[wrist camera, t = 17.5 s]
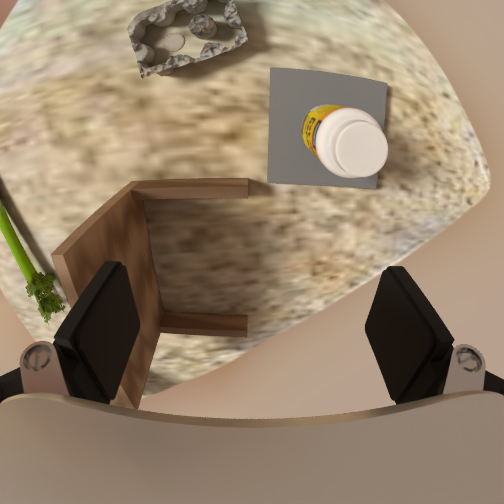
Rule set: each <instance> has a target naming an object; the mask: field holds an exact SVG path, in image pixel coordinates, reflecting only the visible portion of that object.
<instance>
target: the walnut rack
mask: <svg viewBox="0 0 504 504" xmlns="http://www.w3.org/2000/svg"><path fill="white" fill-rule="evenodd" d="M192 198H248V178H200V179H168V180H147V181H131V182H130V183H129V184H128V185H126V186H125V187H124V188H123V189H121V190H120V191H119V192H118V193H117V194H115V195H114V196H113V197H112V198H111V199H109V200H108V201H107V202H106V203H105V204H104V205H102V206H101V207H100V208H99V209H98V210H97V211H96V212H94V213H93V214H92V215H91V216H90V217H89V218H88V219H87V220H86V221H85V222H83V223H82V224H81V225H80V226H79V227H78V228H77V229H76V230H75V231H74V232H73V233H72V234H71V235H70V236H69V237H68V238H67V239H66V240H65V241H64V242H63V243H62V244H61V245H60V246H59V247H58V248H57V249H56V250H55V251H54V252H53V253H52V254H51V257H52V260H53V263H54V266H55V269H56V271H57V274H58V277H59V279H60V282H61V285H62V287H63V290H64V292H65V295H66V297H67V299H68V302H69V304H70V307H71V309H72V307H73V306H74V304H75V303H76V301H77V300H78V298H79V297H80V295H81V294H82V292H83V291H84V290H85V288H86V287H87V285H88V284H89V282H90V281H91V280H92V278H93V277H94V275H95V274H96V273H97V271H98V270H99V269H100V267H101V266H102V264H103V263H104V262H105V261H120V262H121V263H122V265H125V266H126V268H127V272H128V276H129V280H130V284H131V288H132V292H133V296H134V300H135V304H136V308H137V311H138V315H139V319H140V331H139V333H138V336H137V338H136V341H135V344H134V346H133V349H132V352H131V355H130V357H129V360H128V363H127V366H126V368H125V371H124V374H123V377H122V380H121V383H120V386H119V389H118V392H117V395H118V397H119V398H120V400H121V401H122V403H123V404H124V406H125V407H126V408H131V409H137V410H138V408H139V404H140V400H141V397H142V393H143V389H144V386H145V382H146V379H147V375H148V372H149V369H150V365H151V362H152V359H153V355H154V352H155V349H156V346H157V342H158V339H159V336H160V333H172V334H187V335H205V336H232V337H247V315H213V314H189V313H170V312H164V310H163V306H162V302H161V297H160V293H159V288H158V283H157V279H156V274H155V269H154V264H153V258H152V253H151V247H150V241H149V235H148V229H147V223H146V216H145V209H144V202H143V200H151V199H192Z"/></svg>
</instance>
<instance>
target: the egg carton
mask: <svg viewBox="0 0 504 504" xmlns="http://www.w3.org/2000/svg"><path fill="white" fill-rule="evenodd" d="M207 1H209V0H172V1H169V2H166V3H164V4H162V5H160V6H157V7H154V8H151V9H148V10H146V11H143V12H141V13H140V14H138V15H137V16H136V17H135V18H134V19H133V20H132V22H131V23H130V25H129V26H128V33H129V37H130V39H131V42H132V47H133V49H134V51H135V53H136V57H137V60H138V61H137V63H138V67H139V70H140V73H141V77H142V78H143V77H146V76H150V75H151V74H153V73H158V74H159V75H160V76H166V75H169V74H171V73H173V68H177V67H180V66H183V65H186V64H189V63H194V64H196V63H198V62H199V61H202V60H206V59H209V58H211V57H214V56H216V55H219V54H221V53H223V52H231V51H233V50H235V49H236V48H237V47H240V46H241V44H242V43H244V42H247V41H248V38H247V34H246V31H245V28H244V26H243V24H242V22H241V18H240V15H239V13H238V11H237V8H236V6H235V3H234V1H233V0H218V1H219V2H221V3H225V4H227V5H226V6H225V12H224V14H223V16H224V18H225V20H226V23H227V25H228V26H230V27H231V28H234V29H242V31H243V33H241V34H239V35H238V36H237V37H236V39H235V45H234V46H232V47H230V48H226V47H224V46H223V45H221V44H219V43H209V42H208V43H206V44H205V46H204V48H203V49H202V51H201V54H200V55H201V56H200V58H197V59H194V58H191V57H190V56H188V55H184V56H183V55H177V56H175V57H174V56H171V57H170V58H169V59H168V60H167V61H166V63H162V64H159V65H156V66H154V67H150V68H149V66H148V64H150V63H151V62H152V61H153V59H154V57H155V52H154V50H153V49H152V48H151V47H150V46H148V45H145V44H142V43H140V39H141V38H142V37H143V36H144V34H145V32H146V26H148V25H149V24H152V23H154V24H155V25H157V26H159V27H166V26H168V25H170V24H171V23H172V22H173V21H174V19H175V14H176V13H177V12H179V11H181V10H186V12H188V13H190V14H198V13H201V12H203V11H204V10H205V9H206V6H207ZM189 29H190V31H191V32H192V33H193V34H194V35H195V36H196V37H197V38H199V39H209V38H211V37H213V36H214V35H215V34H216V31H217V29H218V28H217V26H216V24H215V22H214V20H213V19H212V18H211V17H209V16H208V15H196V16H194V18H193V19H192V20H191V21H190V23H189ZM184 44H185V38H184V36H183V35H181V34H180V33H172V34H169V35H168V36H167V37H166V38H165V39H164V42H163V45H164V48H165V49H166V50H167V51H169V52H176V51H178V50H180V49H181V48H182V47H183V46H184Z"/></svg>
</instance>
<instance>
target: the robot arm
mask: <svg viewBox="0 0 504 504" xmlns="http://www.w3.org/2000/svg"><path fill="white" fill-rule="evenodd" d="M139 331H140V319H139V315H138V311H137V308H136V304H135V300H134V296H133V292H132V288H131V284H130V280H129V276H128V272H127V268H126V266H125V265H122V263H121V262H120V261H105V262H104V263H103V264H102V266H101V267H100V269H99V270H98V271H97V273H96V274H95V275H94V277H93V278H92V280H91V281H90V282H89V284H88V285H87V287H86V288H85V290H84V291H83V292H82V294H81V295H80V297H79V298H78V300H77V301H76V303H75V304H74V306H73V307H72V309H71V310H70V312H69V313H68V315H67V316H66V318H65V320H64V321H63V323H62V324H61V326H60V328H59V329H58V331H57V332H56V334H55V336H54V338H55V340H54V342H53V344H51V343H50V342H47V341H38V342H35V343H33V344H31V345H29V346H28V347H27V348H26V349H25V350H24V351H23V353H22V355H21V358H20V367H19V368H17V369H15V370H13V371H11V372H9V373H7V374H4V375H2V376H0V504H504V380H503V379H501V378H499V377H498V376H496V375H494V374H491V373H490V372H488V371H486V370H485V360H484V358H483V356H482V354H481V353H480V352H479V351H478V350H477V349H476V348H474V347H472V346H470V345H467V344H460V345H458V346H456V347H455V348H453V346H452V343H453V341H454V338H453V337H452V335H451V334H450V332H449V330H448V329H447V327H446V326H445V324H444V323H443V321H442V320H441V318H440V317H439V315H438V314H437V312H436V311H435V309H434V308H433V306H432V305H431V304H430V302H429V301H428V299H427V298H426V296H425V295H424V294H423V293H422V291H421V290H420V288H419V287H418V285H417V284H416V283H415V281H414V280H413V279H412V277H411V276H410V275H409V273H408V272H407V271H406V269H405V268H404V267H402V266H389V267H387V269H386V270H384V271H383V272H382V275H381V278H380V282H379V285H378V288H377V291H376V294H375V297H374V300H373V303H372V306H371V309H370V312H369V315H368V318H367V321H366V324H365V332H366V335H367V337H368V340H369V342H370V345H371V347H372V350H373V352H374V355H375V357H376V360H377V363H378V365H379V368H380V370H381V373H382V375H383V378H384V381H385V383H386V386H387V389H388V392H389V394H390V397H391V399H392V400H393V401H395V402H396V405H393V406H388V407H383V408H377V409H371V410H365V411H359V412H352V413H344V414H336V415H327V416H315V417H302V418H285V419H223V418H206V417H205V418H204V417H192V416H181V415H172V414H163V413H156V412H149V411H143V410H137V409H131V408H126V407H125V406H124V404H123V403H122V401H121V400H120V398H119V397H118V395H117V392H118V389H119V386H120V383H121V380H122V377H123V374H124V371H125V368H126V366H127V363H128V360H129V357H130V355H131V352H132V349H133V346H134V344H135V341H136V338H137V336H138V333H139Z"/></svg>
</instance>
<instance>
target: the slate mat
mask: <svg viewBox="0 0 504 504" xmlns="http://www.w3.org/2000/svg"><path fill="white" fill-rule="evenodd" d="M386 97H387V83H385V82H380V81H375V80H371V79H366V78H360V77H355V76H349V75H343V74H336V73H329V72H321V71H312V70H302V69H290V68H273V67H271V68H270V108H269V144H268V176H267V181H268V183H280V184H305V185H324V186H340V187H353V188H365V189H376V186H377V179H378V173H379V171H378V172H377V173H375V174H373V175H371V176H368V177H359V178H344V177H340V176H338V175H336V174H334V173H332V172H331V171H329V170H328V169H327V168H326V167H325V166H324V165H323V164H322V163H321V162H320V161H319V160H318V159H317V158H316V156H315V155H314V154H313V153H312V152H311V151H310V150H309V149H308V148H307V147H306V145H305V144H304V141H303V139H302V135H301V125H302V122H303V119H304V117H305V116H306V114H307V113H308V112H309V111H310V110H312V109H313V108H315V107H317V106H319V105H324V104H331V105H338V106H344V107H350V108H356V109H359V110H362V111H364V112H366V113H368V114H370V115H371V116H372V117H373V118H374V119H375V120H376V121H377V122H378V124H379V125H380V127H381V129H382V132H383V133H384V122H385V111H386Z"/></svg>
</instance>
